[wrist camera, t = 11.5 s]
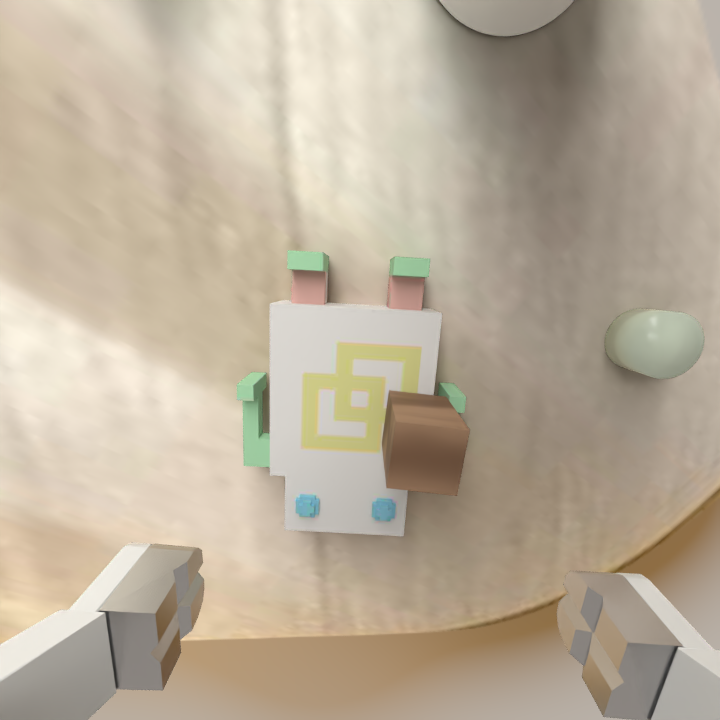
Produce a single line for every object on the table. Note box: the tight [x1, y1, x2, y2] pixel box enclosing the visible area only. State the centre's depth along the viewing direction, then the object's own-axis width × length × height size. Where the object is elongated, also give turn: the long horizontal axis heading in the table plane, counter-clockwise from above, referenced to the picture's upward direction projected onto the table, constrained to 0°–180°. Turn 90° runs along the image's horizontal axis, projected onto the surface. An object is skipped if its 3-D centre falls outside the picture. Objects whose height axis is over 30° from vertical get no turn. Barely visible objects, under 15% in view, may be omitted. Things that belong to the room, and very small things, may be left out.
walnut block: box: [382, 390, 470, 496], centre depth 28 cm, size 5×5×7 cm
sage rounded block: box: [605, 308, 704, 379], centre depth 33 cm, size 6×6×4 cm
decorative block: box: [237, 250, 466, 536], centre depth 34 cm, size 26×6×20 cm
